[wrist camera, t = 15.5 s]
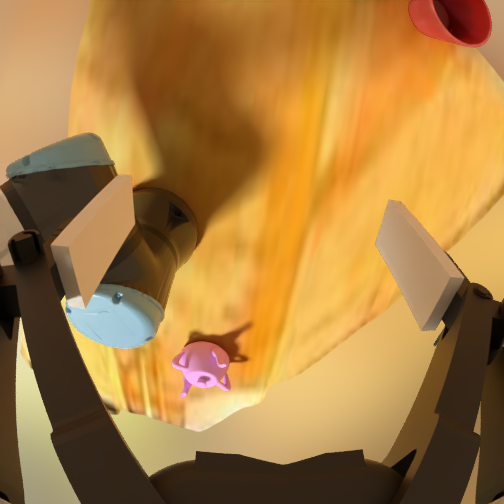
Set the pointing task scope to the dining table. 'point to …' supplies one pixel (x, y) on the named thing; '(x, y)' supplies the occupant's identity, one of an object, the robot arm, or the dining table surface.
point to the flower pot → (453, 20)
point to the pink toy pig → (203, 366)
